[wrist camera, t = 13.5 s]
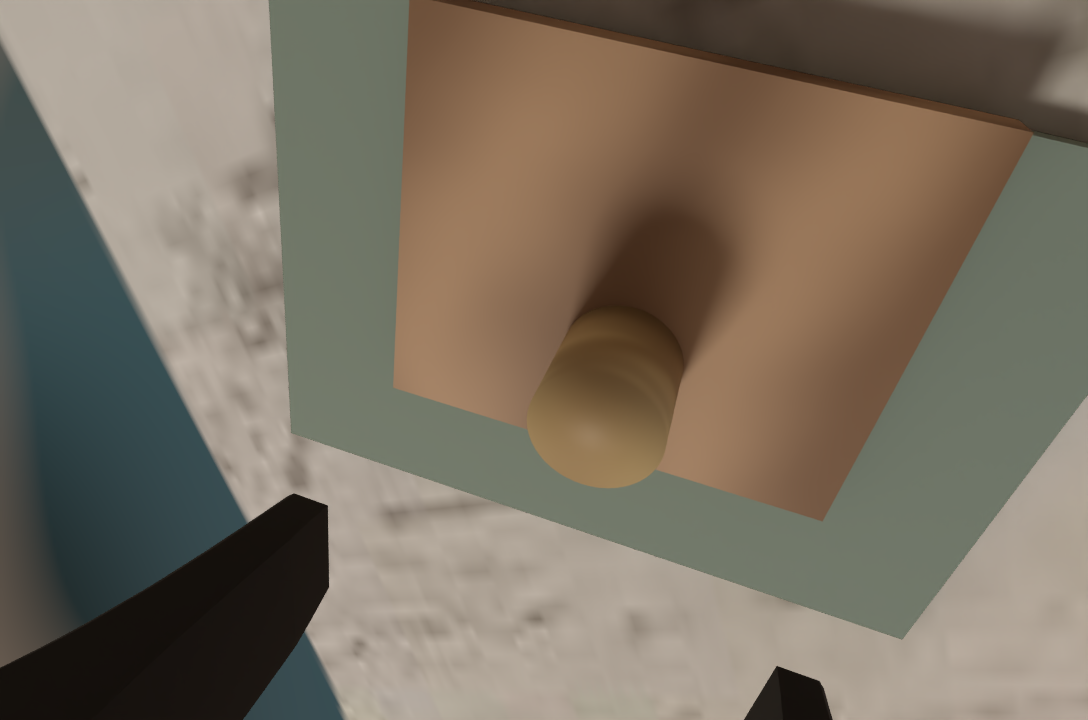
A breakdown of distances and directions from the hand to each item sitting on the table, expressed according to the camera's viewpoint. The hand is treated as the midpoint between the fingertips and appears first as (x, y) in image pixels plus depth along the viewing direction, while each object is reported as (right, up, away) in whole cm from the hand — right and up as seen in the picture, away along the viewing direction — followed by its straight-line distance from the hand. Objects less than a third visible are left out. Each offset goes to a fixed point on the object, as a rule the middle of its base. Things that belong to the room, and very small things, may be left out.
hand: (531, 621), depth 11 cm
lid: (+3, +6, +6) cm, 9 cm away
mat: (+3, +5, +8) cm, 9 cm away
